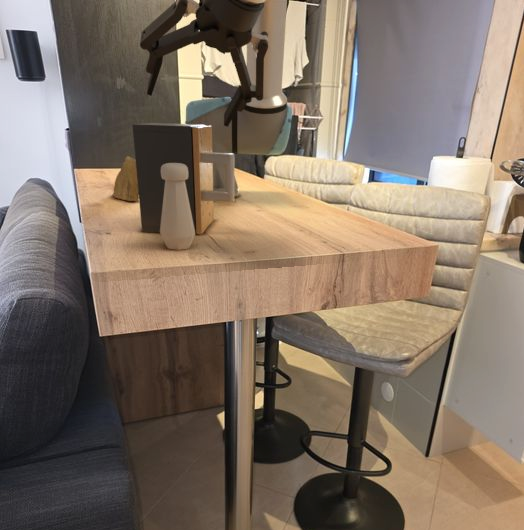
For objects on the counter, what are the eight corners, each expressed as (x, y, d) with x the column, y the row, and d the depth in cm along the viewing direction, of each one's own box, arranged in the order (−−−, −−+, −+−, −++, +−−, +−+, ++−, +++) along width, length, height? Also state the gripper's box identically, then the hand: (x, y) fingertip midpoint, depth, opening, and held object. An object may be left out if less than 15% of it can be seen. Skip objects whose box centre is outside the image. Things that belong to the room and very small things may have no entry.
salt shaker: (165, 252, 73) (158, 165, 67) (157, 243, 77) (151, 161, 71) (200, 249, 75) (197, 165, 69) (190, 241, 80) (187, 161, 74)
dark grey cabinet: (207, 220, 95) (205, 124, 87) (195, 234, 84) (190, 126, 76) (161, 217, 96) (154, 122, 88) (142, 232, 84) (132, 124, 76)
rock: (148, 193, 110) (154, 181, 118) (122, 162, 105) (130, 152, 113) (116, 219, 113) (123, 206, 121) (89, 190, 108) (99, 179, 116)
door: (241, 220, 95) (241, 126, 87) (232, 235, 83) (232, 128, 75) (209, 219, 95) (206, 125, 87) (196, 233, 84) (192, 127, 76)
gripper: (144, -49, 53) (111, 91, 71) (321, 46, 64) (254, 148, 82) (150, -88, 56) (117, 57, 74) (319, 10, 67) (254, 116, 84)
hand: (189, 105), depth 78 cm, fingers open, 13 cm apart
